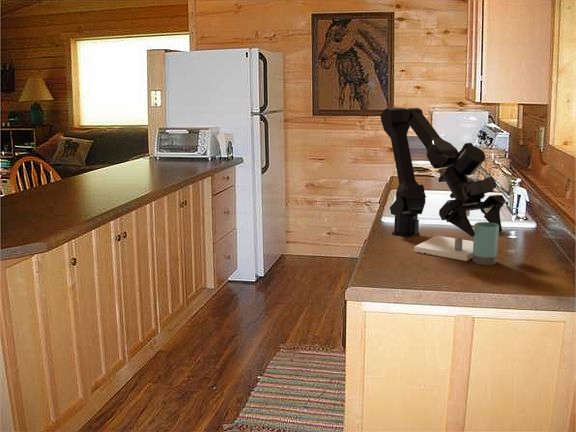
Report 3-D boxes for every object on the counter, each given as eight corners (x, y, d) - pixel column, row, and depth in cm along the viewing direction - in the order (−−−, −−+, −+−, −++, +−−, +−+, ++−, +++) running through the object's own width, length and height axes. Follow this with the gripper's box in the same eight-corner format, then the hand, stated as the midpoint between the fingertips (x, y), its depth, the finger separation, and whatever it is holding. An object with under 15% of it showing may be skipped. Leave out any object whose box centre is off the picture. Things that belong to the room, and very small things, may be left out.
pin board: (414, 251, 171) (414, 234, 170) (436, 240, 183) (437, 224, 182) (466, 260, 162) (467, 242, 161) (486, 248, 174) (487, 231, 173)
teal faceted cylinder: (470, 262, 161) (472, 225, 159) (477, 257, 165) (480, 221, 163) (491, 266, 158) (494, 228, 155) (498, 261, 162) (501, 224, 160)
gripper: (448, 169, 157) (476, 220, 149) (503, 164, 165) (532, 212, 157) (427, 195, 165) (453, 244, 158) (480, 189, 173) (507, 236, 166)
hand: (487, 233), depth 160 cm, fingers open, 9 cm apart
